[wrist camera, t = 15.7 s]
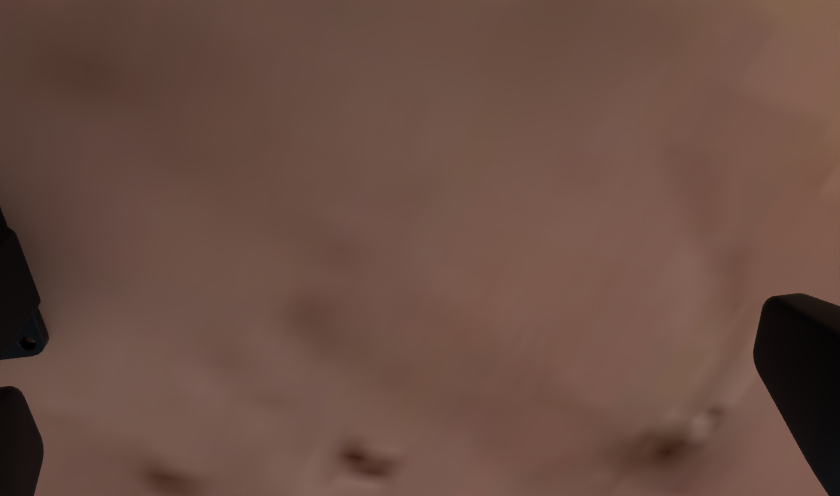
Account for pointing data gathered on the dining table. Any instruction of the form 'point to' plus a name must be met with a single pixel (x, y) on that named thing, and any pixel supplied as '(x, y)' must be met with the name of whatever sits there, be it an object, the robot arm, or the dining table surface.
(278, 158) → the dining table surface
